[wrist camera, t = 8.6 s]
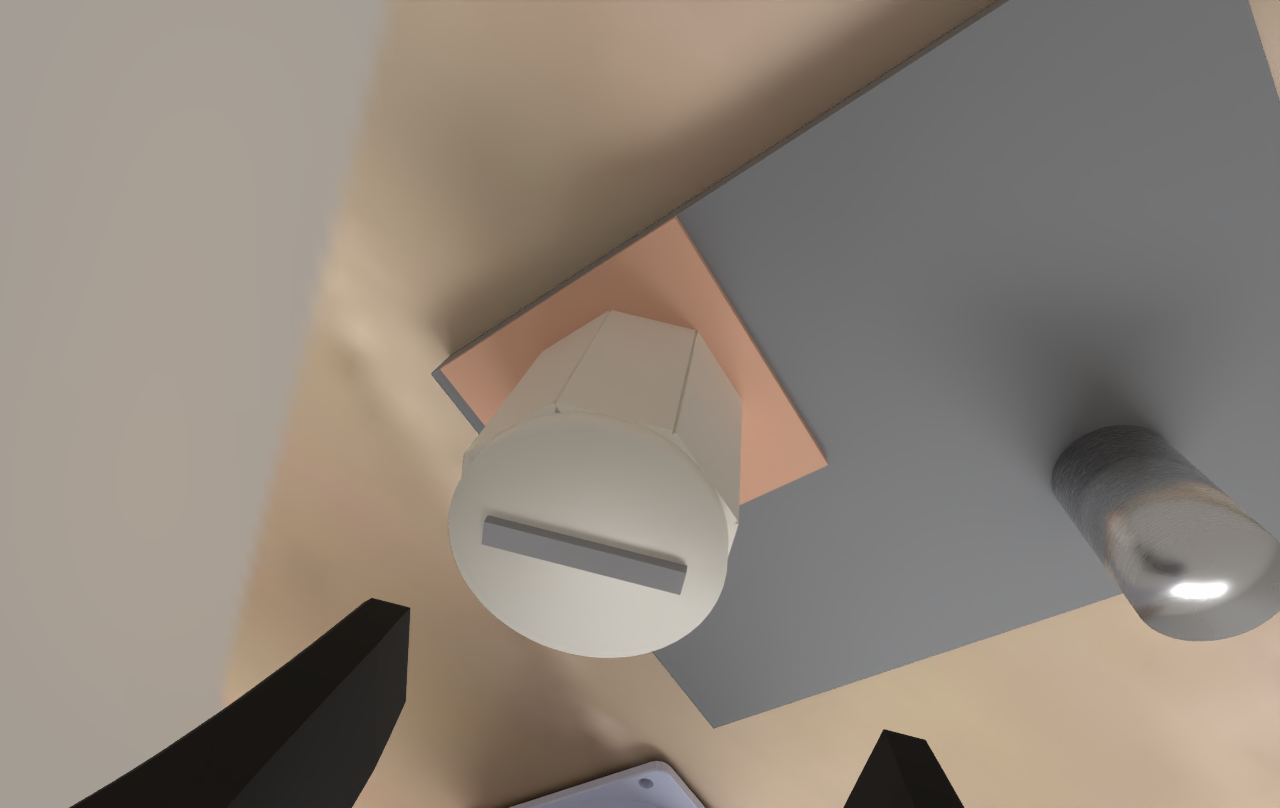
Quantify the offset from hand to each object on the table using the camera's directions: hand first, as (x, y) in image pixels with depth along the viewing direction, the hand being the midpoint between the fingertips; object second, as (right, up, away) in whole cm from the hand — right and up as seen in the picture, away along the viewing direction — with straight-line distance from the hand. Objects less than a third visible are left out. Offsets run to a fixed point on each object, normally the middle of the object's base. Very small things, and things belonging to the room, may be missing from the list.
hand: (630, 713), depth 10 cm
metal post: (+11, +3, +6) cm, 13 cm away
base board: (+6, +5, +7) cm, 11 cm away
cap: (0, +4, +7) cm, 8 cm away
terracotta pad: (0, +5, +7) cm, 8 cm away
